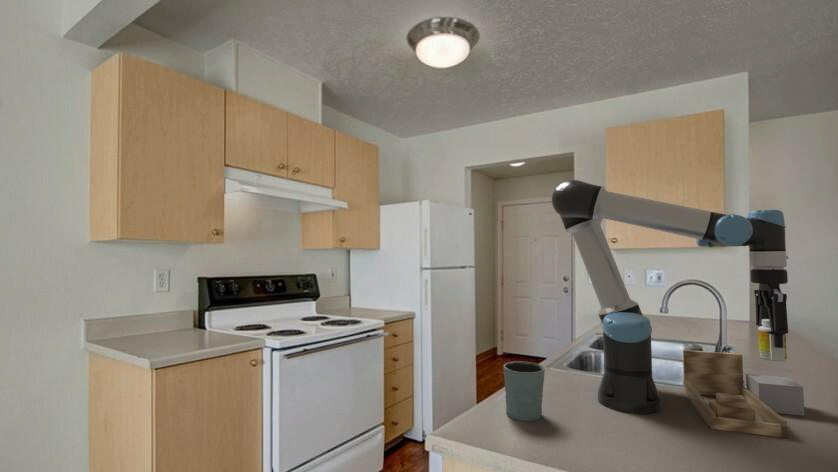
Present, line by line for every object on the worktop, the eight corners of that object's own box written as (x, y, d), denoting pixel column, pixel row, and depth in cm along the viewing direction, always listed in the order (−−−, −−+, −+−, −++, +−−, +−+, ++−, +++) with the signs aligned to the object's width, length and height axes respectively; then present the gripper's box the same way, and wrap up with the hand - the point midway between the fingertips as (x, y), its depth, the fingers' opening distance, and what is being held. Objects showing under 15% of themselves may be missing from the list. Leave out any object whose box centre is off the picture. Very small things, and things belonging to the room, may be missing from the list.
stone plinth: (759, 411, 107) (758, 383, 107) (746, 399, 115) (745, 373, 115) (804, 415, 103) (803, 387, 104) (787, 403, 112) (786, 377, 112)
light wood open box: (711, 428, 96) (709, 375, 97) (684, 391, 122) (682, 349, 123) (787, 438, 91) (785, 381, 92) (742, 397, 117) (740, 353, 117)
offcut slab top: (717, 418, 97) (717, 407, 97) (709, 411, 101) (709, 401, 101) (755, 420, 95) (755, 409, 95) (745, 414, 99) (745, 403, 99)
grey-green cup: (518, 404, 112) (517, 359, 113) (553, 414, 105) (552, 366, 106) (496, 414, 105) (495, 366, 106) (532, 426, 98) (531, 374, 98)
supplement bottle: (775, 362, 106) (773, 322, 107) (753, 357, 112) (752, 318, 112) (792, 361, 108) (790, 321, 108) (770, 356, 113) (768, 318, 114)
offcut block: (721, 405, 98) (720, 397, 98) (716, 401, 101) (716, 393, 101) (747, 408, 96) (746, 399, 96) (741, 404, 99) (741, 395, 99)
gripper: (803, 269, 101) (808, 367, 100) (771, 267, 118) (775, 350, 117) (764, 269, 104) (769, 364, 103) (738, 267, 121) (742, 348, 120)
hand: (772, 357), depth 110 cm, fingers closed on supplement bottle, 6 cm apart
